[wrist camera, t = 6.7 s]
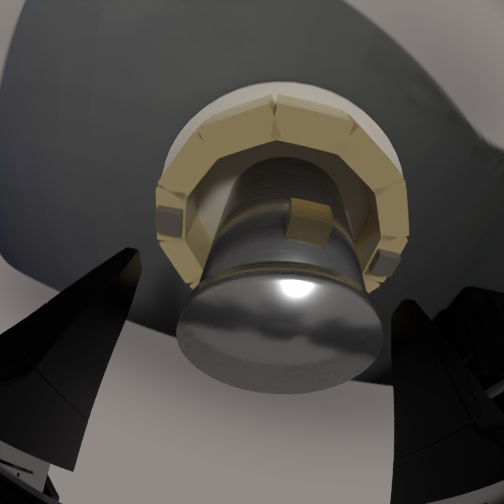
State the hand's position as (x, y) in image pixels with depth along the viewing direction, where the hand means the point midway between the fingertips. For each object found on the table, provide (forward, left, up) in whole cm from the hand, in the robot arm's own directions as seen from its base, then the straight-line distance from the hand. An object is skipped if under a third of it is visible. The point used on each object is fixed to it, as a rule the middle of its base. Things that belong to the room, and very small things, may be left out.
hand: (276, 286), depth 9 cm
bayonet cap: (0, 0, -4) cm, 5 cm away
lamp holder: (0, 0, -6) cm, 6 cm away
